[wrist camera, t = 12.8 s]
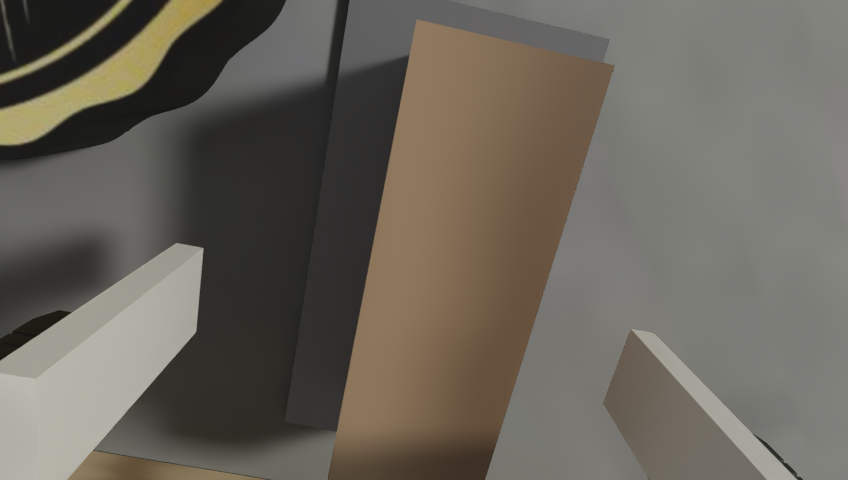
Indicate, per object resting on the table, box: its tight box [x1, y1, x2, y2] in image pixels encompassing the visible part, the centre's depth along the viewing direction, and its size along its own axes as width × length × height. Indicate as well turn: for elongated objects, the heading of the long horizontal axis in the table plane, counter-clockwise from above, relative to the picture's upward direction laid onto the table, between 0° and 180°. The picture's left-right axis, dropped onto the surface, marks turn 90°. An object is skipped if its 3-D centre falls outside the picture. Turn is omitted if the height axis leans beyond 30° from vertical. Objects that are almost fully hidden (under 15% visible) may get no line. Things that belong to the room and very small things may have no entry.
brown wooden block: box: [328, 19, 614, 480], centre depth 17 cm, size 4×16×10 cm, turn 168°
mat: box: [285, 0, 610, 431], centre depth 22 cm, size 10×20×1 cm, turn 168°
